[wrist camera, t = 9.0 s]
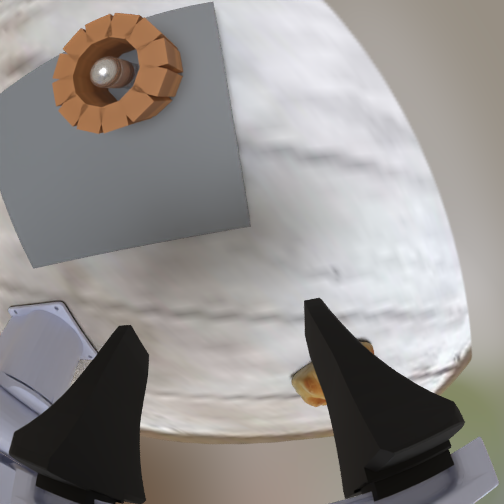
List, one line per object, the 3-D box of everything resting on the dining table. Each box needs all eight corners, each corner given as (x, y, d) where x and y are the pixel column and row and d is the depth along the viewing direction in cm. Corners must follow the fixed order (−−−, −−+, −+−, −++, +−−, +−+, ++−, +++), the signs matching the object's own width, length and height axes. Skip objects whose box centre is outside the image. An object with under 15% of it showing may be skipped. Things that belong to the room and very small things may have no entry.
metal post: (122, 92, 12) (86, 93, 9) (118, 68, 12) (82, 62, 8) (147, 84, 12) (117, 80, 9) (143, 60, 12) (112, 49, 8)
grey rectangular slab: (41, 258, 19) (33, 268, 18) (-7, 106, 12) (-19, 109, 10) (248, 216, 19) (250, 226, 17) (214, 9, 11) (213, 1, 10)
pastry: (349, 327, 26) (362, 356, 23) (381, 346, 28) (393, 371, 25) (284, 376, 29) (290, 404, 26) (322, 388, 32) (329, 413, 29)
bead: (99, 135, 13) (65, 148, 10) (84, 51, 11) (47, 45, 7) (189, 108, 13) (177, 111, 10) (174, 19, 11) (157, -3, 7)
